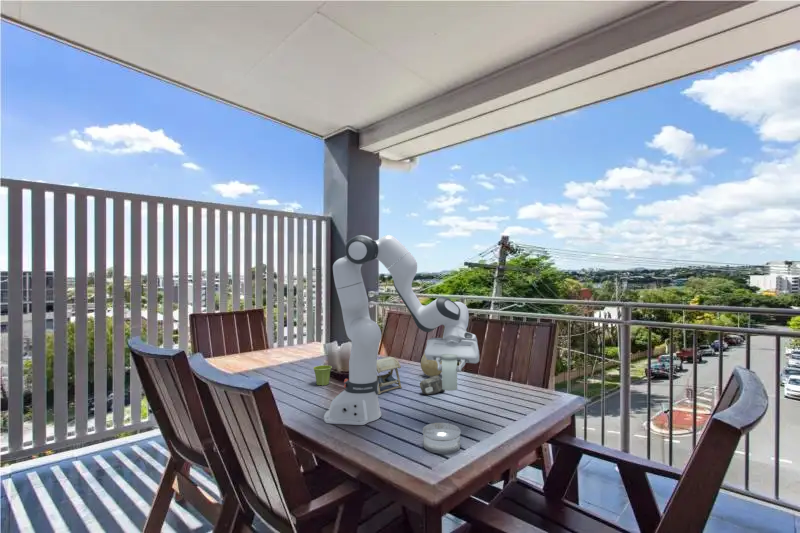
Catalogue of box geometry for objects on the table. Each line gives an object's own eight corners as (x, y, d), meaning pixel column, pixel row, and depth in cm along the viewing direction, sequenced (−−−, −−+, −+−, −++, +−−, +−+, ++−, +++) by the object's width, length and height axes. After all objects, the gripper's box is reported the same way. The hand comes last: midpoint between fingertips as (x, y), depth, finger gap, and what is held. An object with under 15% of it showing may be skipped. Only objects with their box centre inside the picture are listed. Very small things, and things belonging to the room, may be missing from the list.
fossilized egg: (432, 372, 213) (432, 345, 214) (449, 376, 204) (448, 349, 204) (416, 376, 205) (415, 348, 206) (432, 381, 196) (431, 352, 196)
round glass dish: (424, 455, 116) (424, 439, 116) (421, 437, 128) (421, 423, 129) (464, 454, 116) (464, 437, 117) (457, 436, 129) (456, 422, 129)
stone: (435, 406, 170) (424, 386, 169) (424, 404, 176) (414, 386, 175) (452, 386, 179) (443, 368, 178) (442, 385, 185) (432, 367, 184)
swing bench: (379, 395, 174) (379, 363, 174) (366, 390, 181) (366, 360, 181) (402, 388, 184) (401, 358, 185) (389, 384, 191) (388, 355, 191)
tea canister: (443, 391, 132) (442, 356, 133) (440, 386, 138) (440, 353, 138) (458, 390, 132) (458, 356, 133) (455, 385, 138) (455, 353, 138)
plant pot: (311, 383, 195) (311, 366, 195) (329, 380, 199) (329, 364, 199) (315, 387, 186) (315, 370, 187) (334, 385, 190) (333, 368, 191)
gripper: (426, 332, 146) (419, 363, 136) (479, 335, 139) (476, 367, 129) (429, 342, 150) (423, 372, 140) (481, 345, 143) (478, 377, 133)
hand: (449, 370), depth 135 cm, fingers closed on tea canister, 5 cm apart
